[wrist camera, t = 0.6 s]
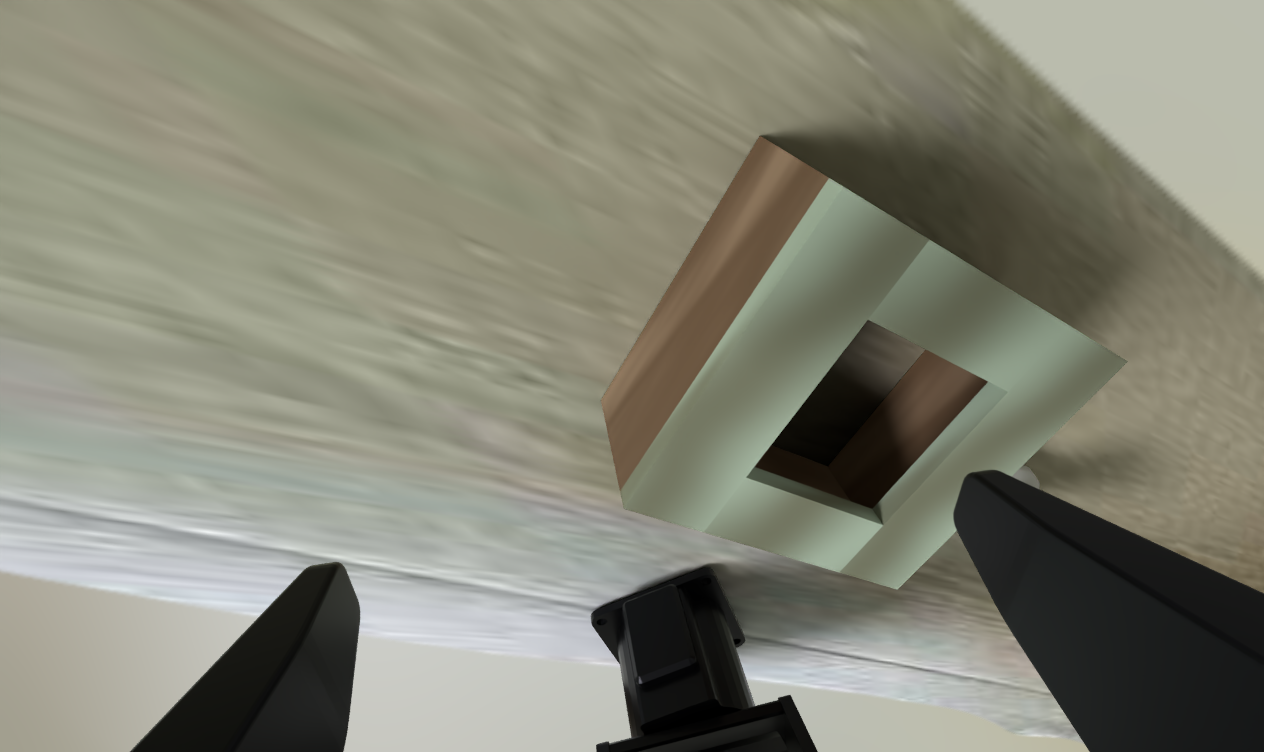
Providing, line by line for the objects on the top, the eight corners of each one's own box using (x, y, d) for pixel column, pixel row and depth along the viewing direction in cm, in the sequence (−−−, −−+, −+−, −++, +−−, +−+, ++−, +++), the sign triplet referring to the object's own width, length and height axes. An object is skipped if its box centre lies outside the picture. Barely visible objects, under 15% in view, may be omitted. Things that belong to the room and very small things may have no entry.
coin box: (1001, 283, 24) (1127, 361, 19) (830, 484, 29) (897, 589, 24) (759, 135, 20) (843, 187, 15) (600, 400, 24) (623, 508, 19)
